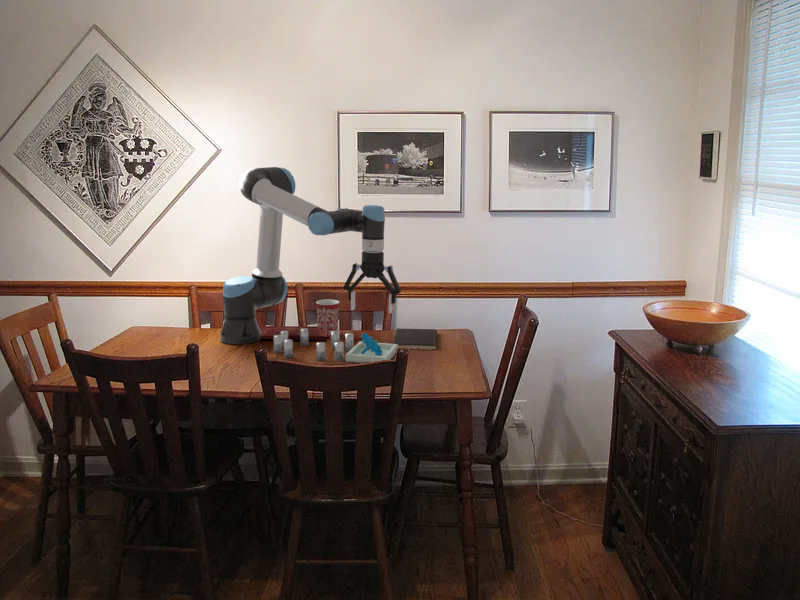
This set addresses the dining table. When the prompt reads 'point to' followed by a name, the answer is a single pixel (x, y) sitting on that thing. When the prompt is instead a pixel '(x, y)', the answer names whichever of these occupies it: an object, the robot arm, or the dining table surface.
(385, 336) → the dining table surface
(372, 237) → the robot arm
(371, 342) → the blue plastic irregular piece
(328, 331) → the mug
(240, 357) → the dining table surface
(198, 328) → the dining table surface
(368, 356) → the parts tray
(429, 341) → the hardcover book
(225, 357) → the dining table surface
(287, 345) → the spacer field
